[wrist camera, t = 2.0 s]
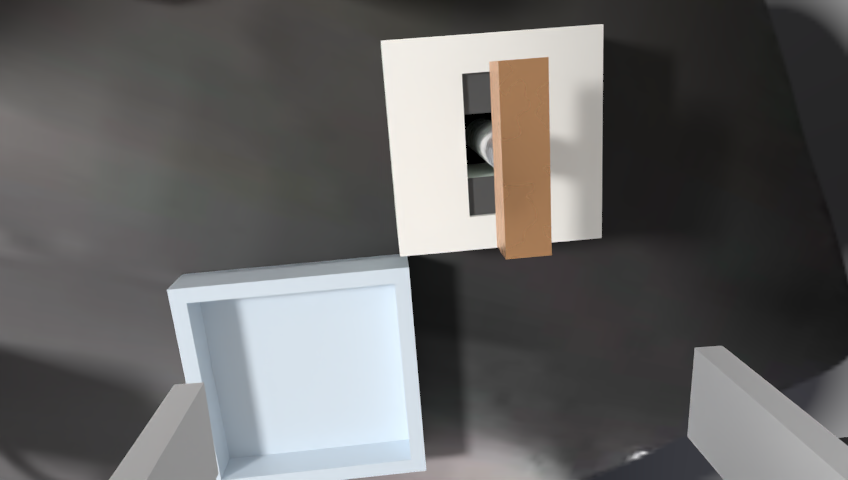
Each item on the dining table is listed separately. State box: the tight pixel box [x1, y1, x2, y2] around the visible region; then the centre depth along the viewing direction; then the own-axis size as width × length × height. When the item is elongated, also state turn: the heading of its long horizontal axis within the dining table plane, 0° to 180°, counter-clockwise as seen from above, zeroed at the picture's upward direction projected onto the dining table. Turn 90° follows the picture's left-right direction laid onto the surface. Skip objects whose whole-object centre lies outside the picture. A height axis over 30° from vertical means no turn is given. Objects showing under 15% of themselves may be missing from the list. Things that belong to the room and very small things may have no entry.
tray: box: [167, 254, 426, 480], centre depth 41 cm, size 15×15×3 cm
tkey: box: [465, 57, 552, 259], centre depth 33 cm, size 9×2×12 cm, turn 4°
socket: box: [381, 24, 603, 257], centre depth 36 cm, size 12×12×5 cm
